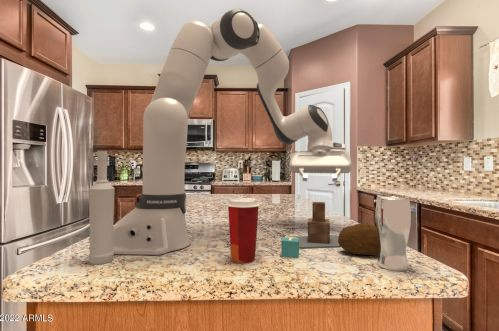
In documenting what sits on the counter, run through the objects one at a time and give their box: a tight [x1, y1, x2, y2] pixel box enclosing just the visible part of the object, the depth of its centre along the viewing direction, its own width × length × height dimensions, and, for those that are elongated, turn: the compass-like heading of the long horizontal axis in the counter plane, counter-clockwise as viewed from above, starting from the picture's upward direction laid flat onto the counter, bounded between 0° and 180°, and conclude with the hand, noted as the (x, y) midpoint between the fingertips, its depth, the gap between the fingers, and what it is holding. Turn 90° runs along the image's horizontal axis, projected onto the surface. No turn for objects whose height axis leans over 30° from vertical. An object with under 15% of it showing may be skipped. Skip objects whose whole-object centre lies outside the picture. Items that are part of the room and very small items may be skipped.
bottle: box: [88, 150, 116, 265], centre depth 66 cm, size 5×5×25 cm
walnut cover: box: [307, 201, 331, 244], centre depth 85 cm, size 6×6×11 cm
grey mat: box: [287, 234, 342, 250], centre depth 85 cm, size 16×12×1 cm
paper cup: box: [226, 197, 261, 264], centre depth 68 cm, size 8×8×14 cm
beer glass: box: [375, 195, 412, 272], centre depth 64 cm, size 7×7×15 cm
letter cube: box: [280, 236, 300, 259], centre depth 72 cm, size 4×4×4 cm
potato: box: [337, 222, 380, 256], centre depth 73 cm, size 8×12×8 cm, turn 84°
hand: (319, 180), depth 94 cm, fingers open, 8 cm apart
